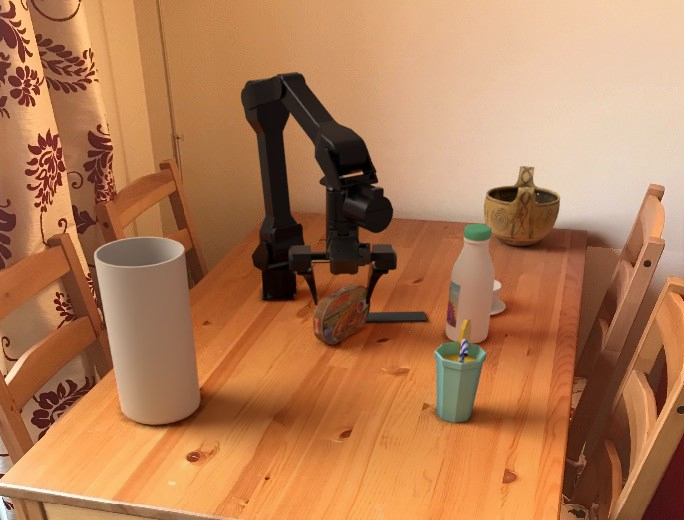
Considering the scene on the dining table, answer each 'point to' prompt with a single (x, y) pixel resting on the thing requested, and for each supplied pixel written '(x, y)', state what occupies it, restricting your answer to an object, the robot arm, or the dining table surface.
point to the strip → (395, 317)
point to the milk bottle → (471, 285)
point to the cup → (458, 376)
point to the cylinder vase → (149, 327)
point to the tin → (341, 314)
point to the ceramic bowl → (521, 210)
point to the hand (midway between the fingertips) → (341, 303)
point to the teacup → (496, 303)
